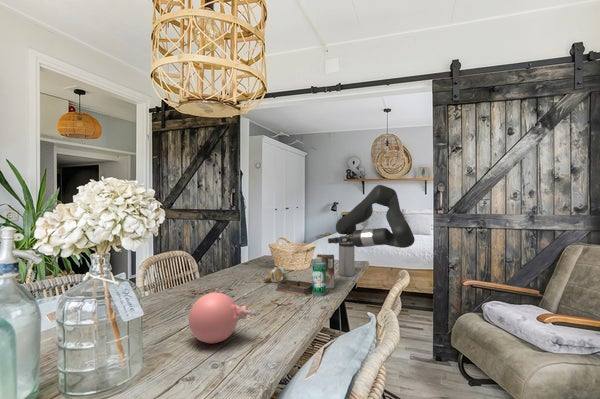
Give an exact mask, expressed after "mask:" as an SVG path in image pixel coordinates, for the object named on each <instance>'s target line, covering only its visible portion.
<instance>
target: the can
mask: <svg viewBox="0 0 600 399" xmlns="http://www.w3.org/2000/svg"><path fill="white" fill-rule="evenodd" d="M311 283H312V293H311V294H312V296H314V297H325V296H326V294H327V292H326V290H327V288H326V263H325V262H317V261H313V262H312V282H311Z"/></svg>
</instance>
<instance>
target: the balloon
mask: <svg viewBox="0 0 600 399" xmlns="http://www.w3.org/2000/svg"><path fill="white" fill-rule="evenodd" d="M252 314H253V312H252V310H250V309H249V308H248V306H247V305H243V306H239V305H238V304H237V303H235V301H234V300H233V299H232V298H231V297H230V296H229V295H227V294H225V293H222V292H210V293H206V294H204V295H202V296H200V297H199V298H198V299H197V300H195V302H194V303H193V305H192V306H191V309H190V311H189V314H188V327H189V329H190V331H191V333H192V335H193V336H194V337H195V338H196V339H197V340H199V341H200V342H202V343H205V344H217V343H221V342H224V341H225V340H227V338H229V337H230V336H231V335H232V334H233V333H234V331H235V330H236V327H237V326H238V322H239V321H240V320H245V319H246V318H247V316H249V315H250V316H251V315H252Z"/></svg>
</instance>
